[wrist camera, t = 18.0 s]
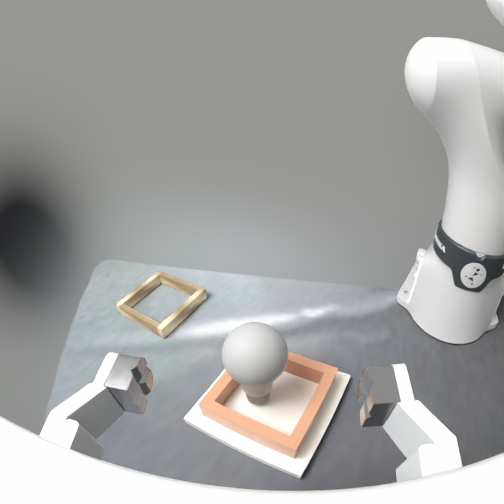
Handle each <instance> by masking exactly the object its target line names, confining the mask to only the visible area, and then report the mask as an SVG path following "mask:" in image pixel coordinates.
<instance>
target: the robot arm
mask: <svg viewBox="0 0 504 504" xmlns="http://www.w3.org/2000/svg"><path fill="white" fill-rule="evenodd" d="M486 3H487V5H488V7H489V9H490V10H491V12H492V13H493V14H494V16H495V17H496V18H497V19H498V20H499V22H500V23H501V24H502V25H503V26H504V0H486ZM405 81H406V86H407V89H408V91H409V94H410V96H411V98H412V100H413V102H414V103H415V105H416V106H417V107H418V109H419V110H420V111H421V112H422V113H423V114H424V115H425V116H426V117H427V118H428V119H429V121H430V122H431V123H432V124H433V126H434V127H435V128H436V130H437V132H438V133H439V135H440V137H441V139H442V141H443V144H444V146H445V150H446V153H447V158H448V164H449V181H448V192H447V199H446V204H445V210H444V214H443V219H442V220H441V221H440V222H439V225H438V227H437V229H436V233H435V238H434V241H433V242H432V244H431V245H430V247H429V249H428V250H427V251H426V250H424V249H421V248H420V249H419V250H418V253H417V256H416V263H415V265H414V266H413V268H412V270H411V272H410V274H409V275H408V277H407V278H406V280H405V282H404V284H403V285H402V287H401V289H400V290H399V292H398V294H397V296H396V300H397V301H398V302H399V303H400V304H401V305H402V306H403V307H404V308H406V309H407V310H408V311H409V312H410V314H411V316H412V317H413V319H414V320H415V322H416V323H417V324H418V325H419V326H420V327H421V328H422V329H423V330H424V331H425V332H427V333H428V334H430V335H431V336H433V337H435V338H437V339H439V340H442V341H445V342H448V343H454V344H465V343H470V342H473V341H475V340H477V339H478V338H479V337H480V336H481V335H482V334H483V333H484V332H485V331H488V330H491V329H494V328H495V327H496V326H497V323H498V317H497V314H496V310H497V308H498V305H499V303H500V300H501V298H502V295H503V292H504V276H503V273H504V162H503V157H502V138H504V52H499V51H497V50H494V49H491V48H488V47H485V46H482V45H479V44H476V43H472V42H469V41H466V40H462V39H458V38H445V37H424V38H422V39H421V40H419V41H418V42H417V43H416V44H415V45H414V46H413V48H412V49H411V51H410V52H409V54H408V57H407V60H406V64H405ZM146 365H147V362H146V360H145V358H142V357H136V356H130V355H123V354H118V353H112V352H109V353H108V354H107V355H106V357H105V359H104V361H103V363H102V365H101V367H100V369H99V371H98V374H97V376H96V378H95V380H94V382H93V384H92V383H89V384H88V385H87V386H85V387H84V388H82V389H81V390H80V391H78V392H77V393H75V394H74V395H73V396H71V397H70V398H68V399H67V400H66V401H64V402H63V403H62V404H60V405H59V406H57V407H56V408H55V409H53V410H52V411H51V412H50V414H49V416H48V418H47V421H46V423H45V425H44V427H43V429H42V432H41V434H40V436H39V435H36V434H34V433H32V432H30V431H28V430H26V429H24V428H22V427H20V426H18V425H16V424H14V423H12V422H11V421H9V420H7V419H5V418H3V417H1V416H0V504H504V453H501V454H498V455H496V456H493V457H490V458H488V459H485V460H482V461H479V462H476V463H473V464H470V465H467V466H463V467H462V463H461V458H460V453H459V448H458V444H457V439H456V436H455V435H454V434H453V433H451V432H450V431H449V430H448V429H447V428H446V427H445V426H444V425H443V424H442V423H441V422H440V421H439V420H438V419H437V418H436V417H435V416H434V415H433V414H432V413H431V412H430V411H429V410H428V409H427V408H426V407H425V406H424V405H423V404H422V403H421V402H420V401H419V400H415V399H414V395H413V391H412V387H411V383H410V379H409V375H408V371H407V368H406V365H405V364H393V365H391V364H389V365H377V366H366V367H365V368H364V370H363V377H362V378H361V379H360V381H359V384H358V402H359V403H360V404H361V405H362V408H361V410H360V419H361V427H370V426H382V427H383V428H384V429H385V431H386V432H387V433H388V434H389V436H390V437H391V438H392V440H393V441H394V442H395V444H396V445H397V446H398V447H399V449H400V450H401V451H402V453H403V454H404V455H405V457H406V458H407V459H406V460H405V461H404V462H403V463H402V464H401V465H400V466H399V467H398V468H397V469H396V477H397V482H396V483H389V484H383V485H376V486H368V487H360V488H349V489H337V490H318V491H271V490H252V489H239V488H229V487H220V486H212V485H205V484H198V483H192V482H186V481H181V480H176V479H171V478H166V477H161V476H157V475H152V474H148V473H144V472H140V471H136V470H132V469H129V468H125V467H122V466H118V465H115V464H112V463H109V462H105V461H102V460H101V459H102V456H103V453H104V450H105V449H104V447H103V446H102V445H101V444H100V443H99V442H98V441H97V440H96V439H97V438H98V437H99V436H100V435H101V434H102V433H103V432H104V431H105V430H106V429H107V428H108V427H110V426H111V425H112V424H113V423H114V422H115V421H116V420H117V419H118V418H119V417H120V416H121V415H122V414H123V413H124V411H128V412H133V413H138V414H143V413H144V410H145V407H146V404H147V398H146V395H147V394H148V393H150V392H151V389H152V386H153V375H152V372H151V370H150V369H149V368H148V367H146Z"/></svg>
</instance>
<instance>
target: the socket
mask: <svg viewBox="0 0 504 504" xmlns="http://www.w3.org/2000/svg"><path fill="white" fill-rule="evenodd" d="M350 376H351V375H349V374H345V373H342V372H339V371H338V368H336V367H333V366H330V365H327V364H324V363H321V362H318V361H315V360H312V359H309V358H307V357H304V356H301V355H298V354H295V353H292V352H290V351H288V361H287V364H286V367H285V369H284V371H283V372H282V374H281V375H280V376H279V377H278V378H277V379H276V380H275V381H274V382H273V384H272V389H271V390H270V396H269V399H268V401H267V402H265V403H264V404H261V405H255V404H252V403H250V402H249V401H248V399H247V397H246V393H245V392H244V390H243V388H242V385H241V384H240V383H238V382H237V381H235V380H234V379H233V378H232V377H231V376H230V375H229V374H228V372H227V371H226V369H224V371H223V372H222V373H221V374H220V375H219V377H218V378H217V379H216V380H215V382H214V383H213V384H212V385H211V386H210V388H209V389H208V390H207V391H206V392H205V394H204V395H203V396H202V397H201V398H200V399H199V401H198V402H197V403H196V404H195V405H194V407H193V408H192V409H191V410H190V411H189V412H188V414H187V415H186V416H185V417H184V420H185V422H186V423H188V424H190V425H191V426H193V427H195V428H196V429H198V430H200V431H202V432H203V433H205V434H207V435H209V436H210V437H212V438H214V439H216V440H218V441H220V442H222V443H223V444H225V445H227V446H229V447H231V448H233V449H235V450H237V451H239V452H241V453H243V454H245V455H247V456H249V457H251V458H253V459H256V460H258V461H260V462H262V463H264V464H266V465H269V466H271V467H273V468H275V469H278V470H280V471H282V472H285V473H287V474H290V475H292V476H295V477H297V478H301V476H302V475H303V473H304V471H305V469H306V468H307V466H308V464H309V462H310V460H311V458H312V457H313V455H314V453H315V451H316V449H317V447H318V445H319V443H320V441H321V439H322V438H323V436H324V434H325V432H326V430H327V428H328V426H329V423H330V421H331V419H332V417H333V415H334V413H335V411H336V409H337V407H338V404H339V402H340V400H341V398H342V396H343V393H344V391H345V389H346V387H347V384H348V382H349V380H350Z"/></svg>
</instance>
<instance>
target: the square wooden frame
mask: <svg viewBox="0 0 504 504" xmlns="http://www.w3.org/2000/svg"><path fill="white" fill-rule="evenodd" d="M161 283H162V284H164V285H167V286H169V287H171V288H174V289H176V290H179V291H181V292H184V293H186V294H188V295H191V297H190V298H189V299H187V300H186V301H185V302H184V303H183V304H182V305H181V306H180V307H179V308H178V309H177V310H175V311H174V312H173V313H172V314H171V315H170V316H169V317H168V318H167V319H166V320H164V321H163V322H162V323H161V324H160V323H159V322H157V321H155V320H153V319H151V318H149V317H147V316H145V315H143V314H141V313H140V312H138V311H136V310H134V309H132V308H131V307H133V306H134V305H135V304H136V303H138V302H139V301H140V300H141V299H142V298H144V297H145V296H146V295H147V294H149V293H150V292H151V291H152V290H153V289H155V288H156V287H157V286H158V285H160V284H161ZM206 298H207V292H206V288H203V287H200V286H198V285H195V284H192V283H190V282H187V281H184V280H182V279H179V278H176V277H174V276H171V275H169V274H166V273H163V272H161V271H158V272H157V273H155V274H154V275H153V276H151V277H150V278H149V279H148V280H146V281H145V282H144V283H142V284H141V285H140V286H139V287H137V288H136V289H135V290H133V291H132V292H131V293H130V294H128V295H127V296H126V297H124V298H123V299H122V300H121V301H119V302H118V303H117V304H116V307H117V310H118V312H119V313H120V314H121V315H123V316H125V317H126V318H128V319H130V320H132V321H133V322H135V323H137V324H138V325H140V326H142V327H144V328H146V329H147V330H149V331H151V332H153V333H154V334H156V335H158V336H160V337H162V338H164V339H165V338H166V337H167V336H168V335H169V334H170V333H171V332H172V331H173V330H174V329H175V328H176V327H177V326H178V325H179V324H180V323H181V322H182V321H183V320H184V319H186V318H187V317H188V316H189V315H190V314H191V313H192V312H193V311H194V310H195V309H196V308H197V307H198V306H199V305H200V304H201V303H202V302H203V301H204V300H205V299H206Z"/></svg>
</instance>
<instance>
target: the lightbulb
mask: <svg viewBox="0 0 504 504" xmlns="http://www.w3.org/2000/svg"><path fill="white" fill-rule="evenodd" d="M222 361H223V365H224V367H225V369H226V371H227V372H228V374H229V375H230V376H231V377H232V378H233V379H234V380H235V381H237V382H238V383H240V384H241V385H242V388H243V390H244V392H245V393H246V397H247V399H248V401H249V402H250V403H252V404H255V405H261V404H264V403H265V402H267V401H268V399H269V396H270V390H271V389H272V384H273V382H274V381H275V380H276V379H277V378H278V377H279V376H280V375H281V374H282V372H283V371H284V369H285V367H286V364H287V361H288V349H287V345H286V342H285V340H284V338H283V337H282V335H281V334H280V333H279V332H278V331H277V330H276V329H274V328H273V327H271V326H269V325H267V324H264V323H259V322H251V323H246V324H243V325H241V326H239V327H237V328H236V329H234V330H233V331H232V332H231V333H230V334H229V335H228V337H227V338H226V340H225V342H224V345H223V349H222Z"/></svg>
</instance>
